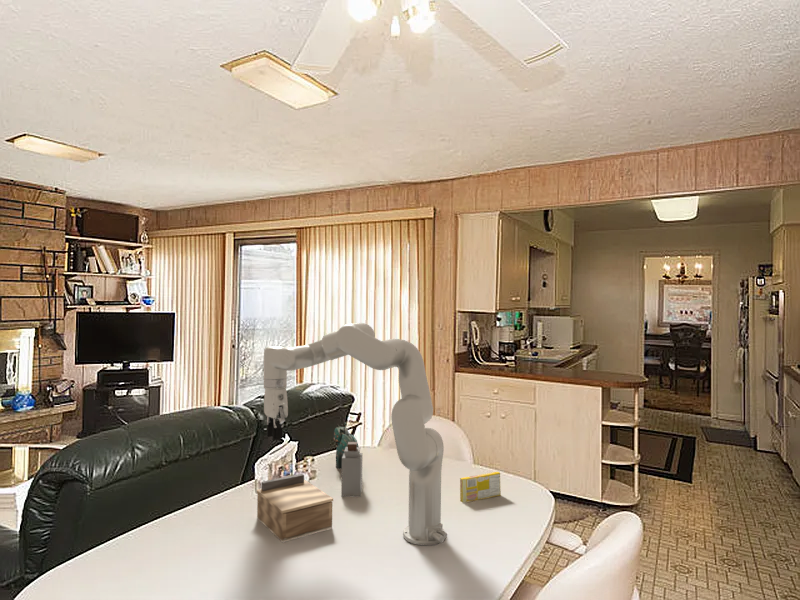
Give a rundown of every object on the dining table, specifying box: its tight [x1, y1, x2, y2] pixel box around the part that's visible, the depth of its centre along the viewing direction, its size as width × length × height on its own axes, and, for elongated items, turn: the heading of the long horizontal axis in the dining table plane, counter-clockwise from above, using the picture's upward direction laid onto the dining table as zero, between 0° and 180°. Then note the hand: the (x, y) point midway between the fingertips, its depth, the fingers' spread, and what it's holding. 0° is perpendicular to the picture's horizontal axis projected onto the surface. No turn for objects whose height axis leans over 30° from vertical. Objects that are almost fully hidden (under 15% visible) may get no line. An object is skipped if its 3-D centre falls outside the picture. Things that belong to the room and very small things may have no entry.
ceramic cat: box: [333, 421, 361, 470], centre depth 210 cm, size 20×6×20 cm, turn 27°
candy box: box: [459, 471, 502, 504], centre depth 184 cm, size 16×2×8 cm, turn 116°
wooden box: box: [256, 493, 333, 543], centre depth 162 cm, size 20×16×8 cm
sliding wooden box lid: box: [256, 473, 334, 514], centre depth 162 cm, size 20×17×3 cm
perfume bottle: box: [340, 441, 363, 497], centre depth 188 cm, size 7×7×18 cm
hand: (274, 437), depth 175 cm, fingers open, 4 cm apart
